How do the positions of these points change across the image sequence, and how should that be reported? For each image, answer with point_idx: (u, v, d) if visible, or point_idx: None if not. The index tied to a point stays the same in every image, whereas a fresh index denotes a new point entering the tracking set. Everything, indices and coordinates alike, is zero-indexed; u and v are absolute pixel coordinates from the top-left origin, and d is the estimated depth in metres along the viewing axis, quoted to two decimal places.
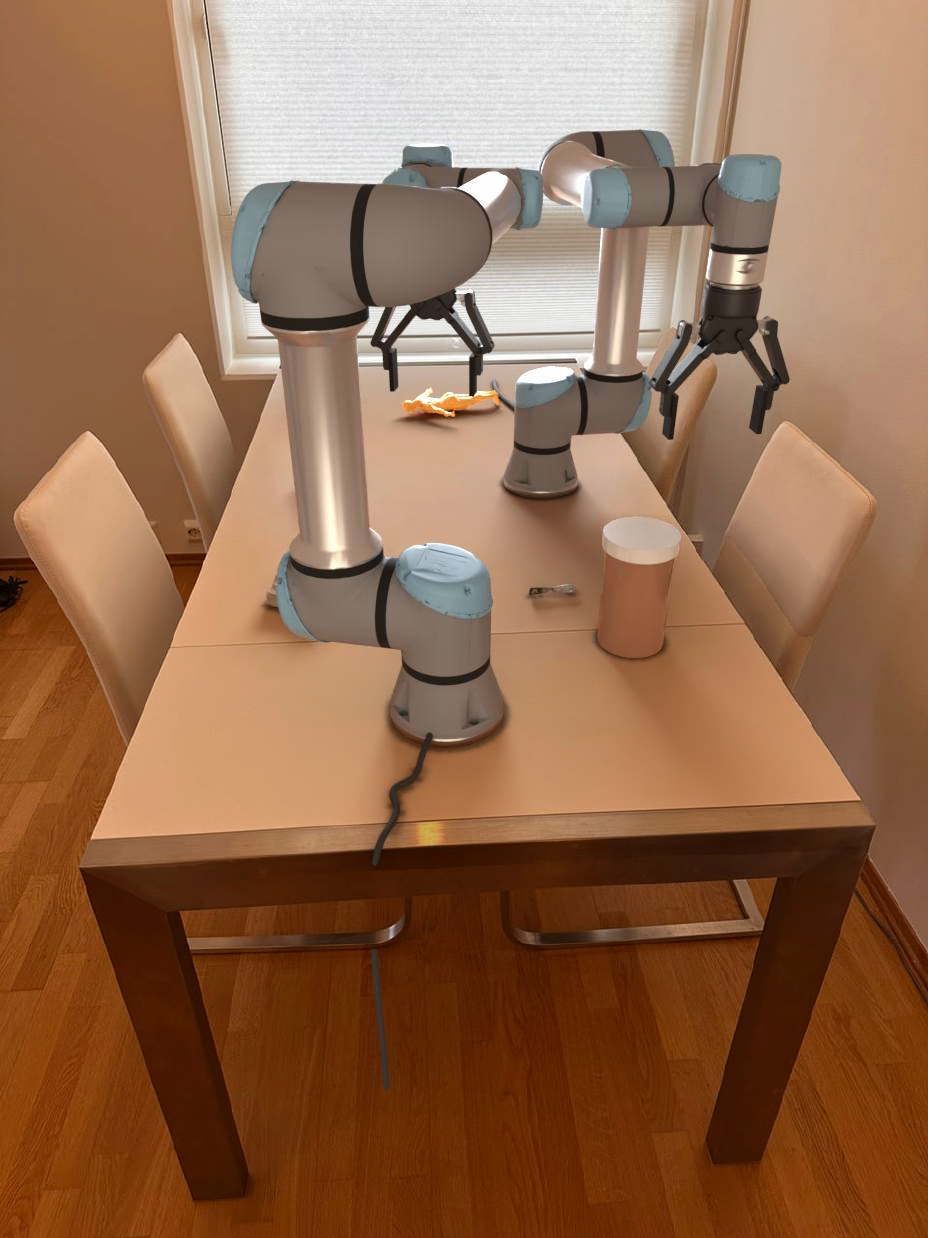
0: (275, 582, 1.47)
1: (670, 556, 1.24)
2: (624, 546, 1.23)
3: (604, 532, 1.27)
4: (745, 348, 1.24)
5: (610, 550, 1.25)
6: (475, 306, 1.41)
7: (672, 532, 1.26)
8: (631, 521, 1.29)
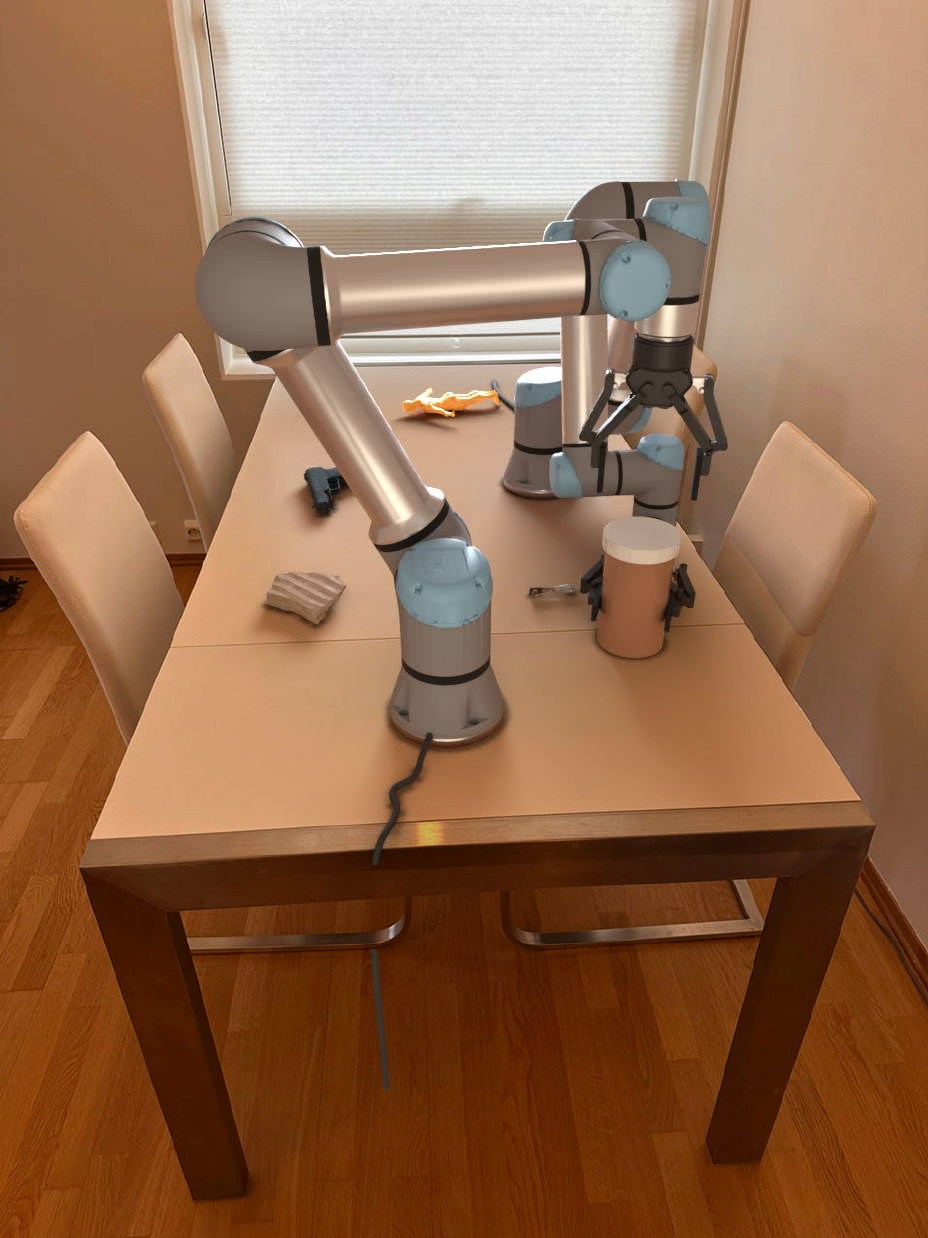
0: (275, 582, 1.47)
1: (670, 556, 1.24)
2: (624, 546, 1.23)
3: (604, 532, 1.27)
4: None
5: (610, 550, 1.25)
6: (713, 394, 1.15)
7: (672, 532, 1.26)
8: (631, 521, 1.29)
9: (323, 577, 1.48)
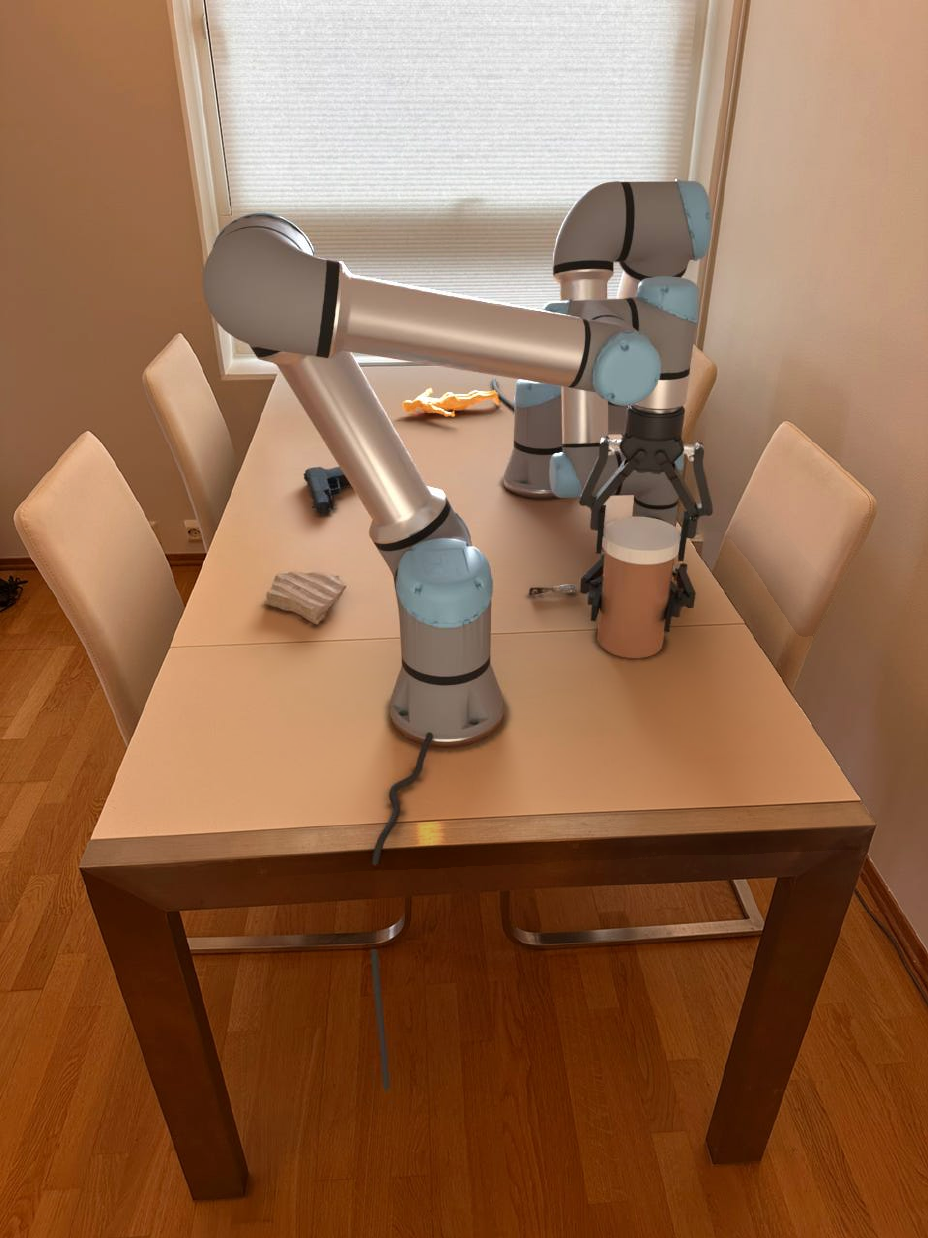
0: (275, 582, 1.47)
1: (670, 556, 1.24)
2: (624, 546, 1.23)
3: (604, 532, 1.27)
4: None
5: (610, 550, 1.25)
6: None
7: (672, 532, 1.26)
8: (631, 521, 1.30)
9: (323, 577, 1.48)
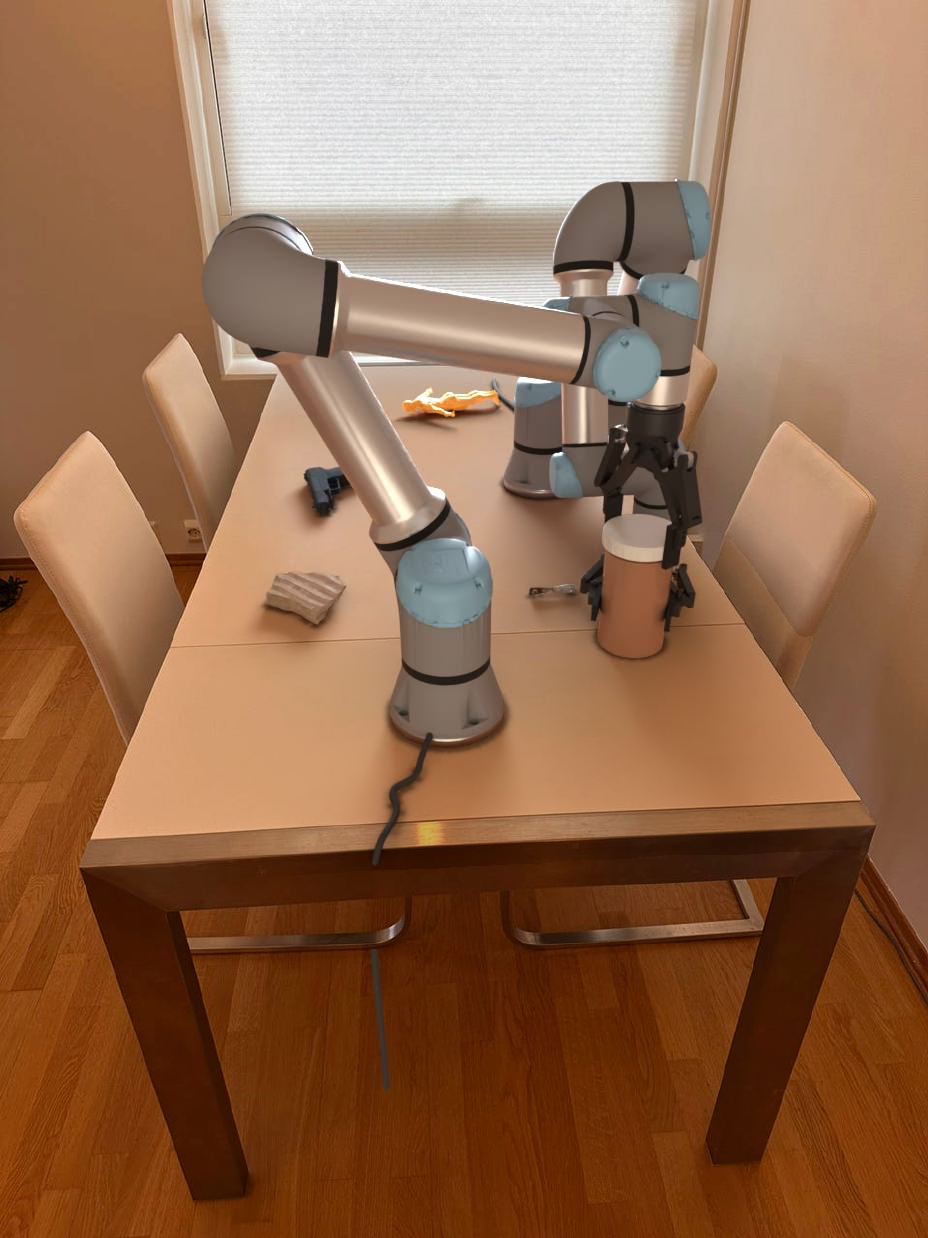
0: (275, 582, 1.47)
1: None
2: None
3: None
4: None
5: None
6: None
7: (615, 521, 1.29)
8: (633, 541, 1.23)
9: (323, 577, 1.48)
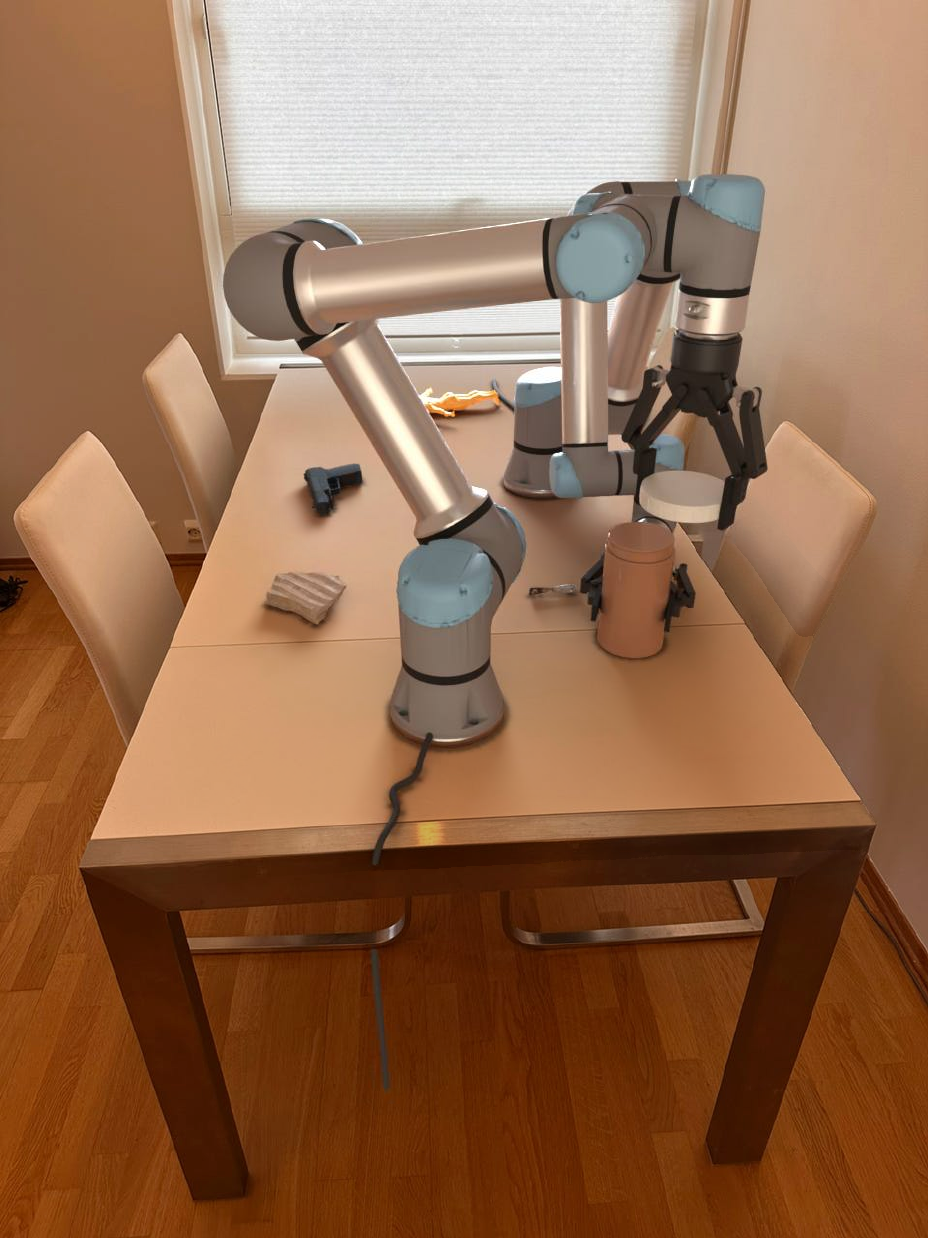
0: (275, 582, 1.47)
1: None
2: (720, 481, 1.10)
3: None
4: None
5: None
6: None
7: (651, 480, 1.10)
8: (683, 500, 1.05)
9: (323, 577, 1.48)
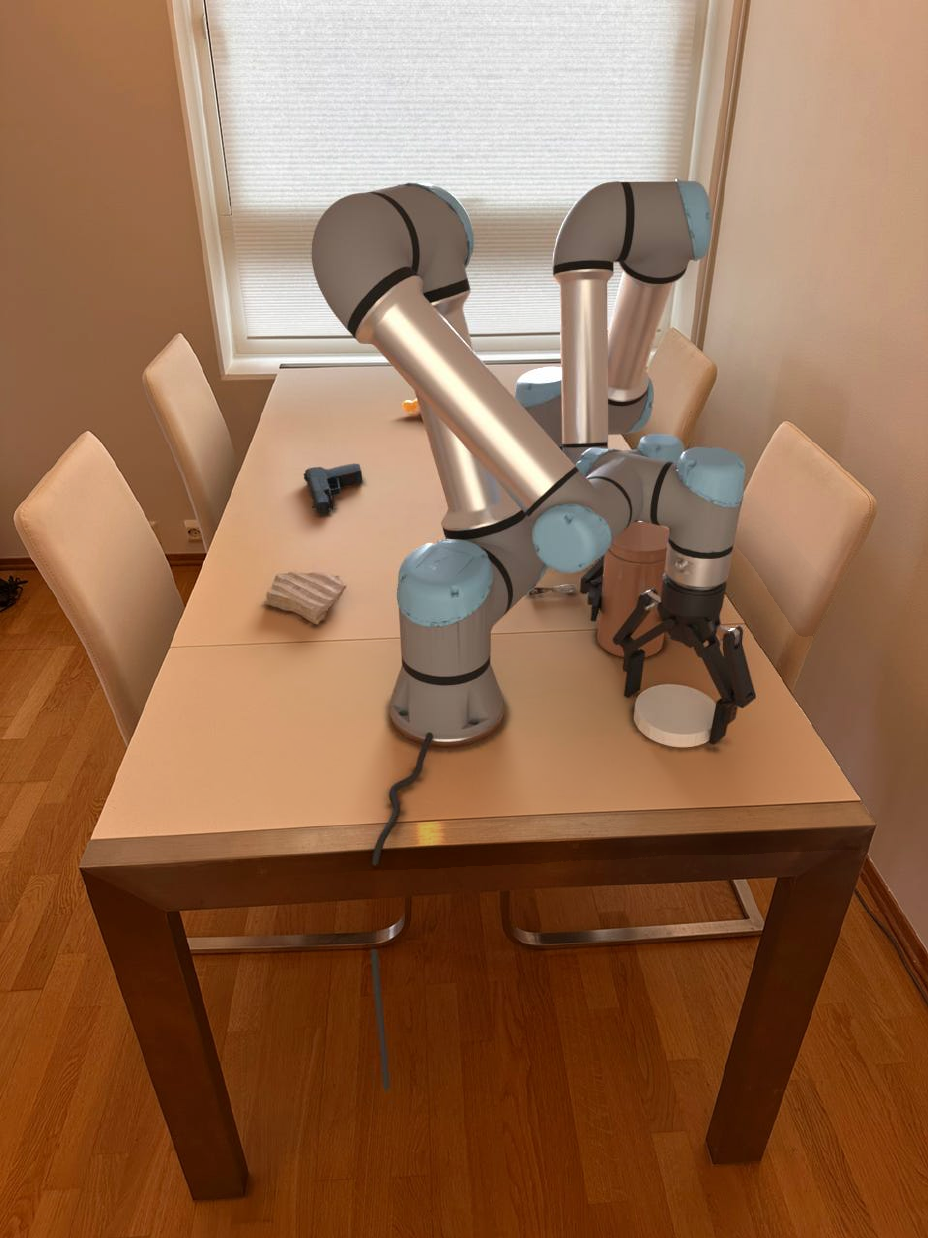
0: (275, 582, 1.47)
1: None
2: (710, 701, 1.19)
3: None
4: None
5: None
6: None
7: (646, 697, 1.20)
8: (671, 725, 1.15)
9: (323, 577, 1.48)
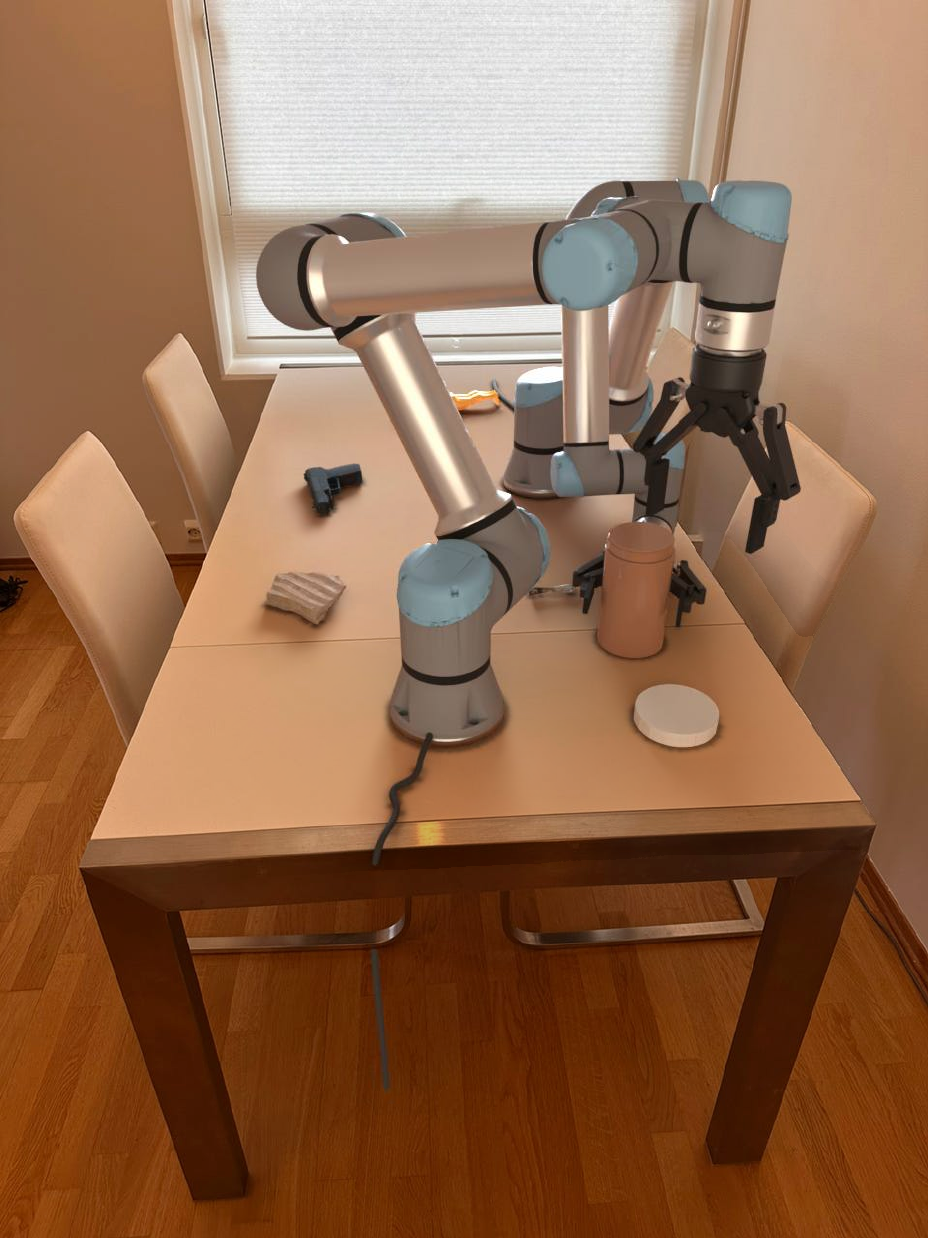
0: (275, 582, 1.47)
1: None
2: (710, 701, 1.19)
3: (714, 723, 1.15)
4: None
5: None
6: None
7: (646, 697, 1.20)
8: (671, 725, 1.15)
9: (323, 577, 1.48)
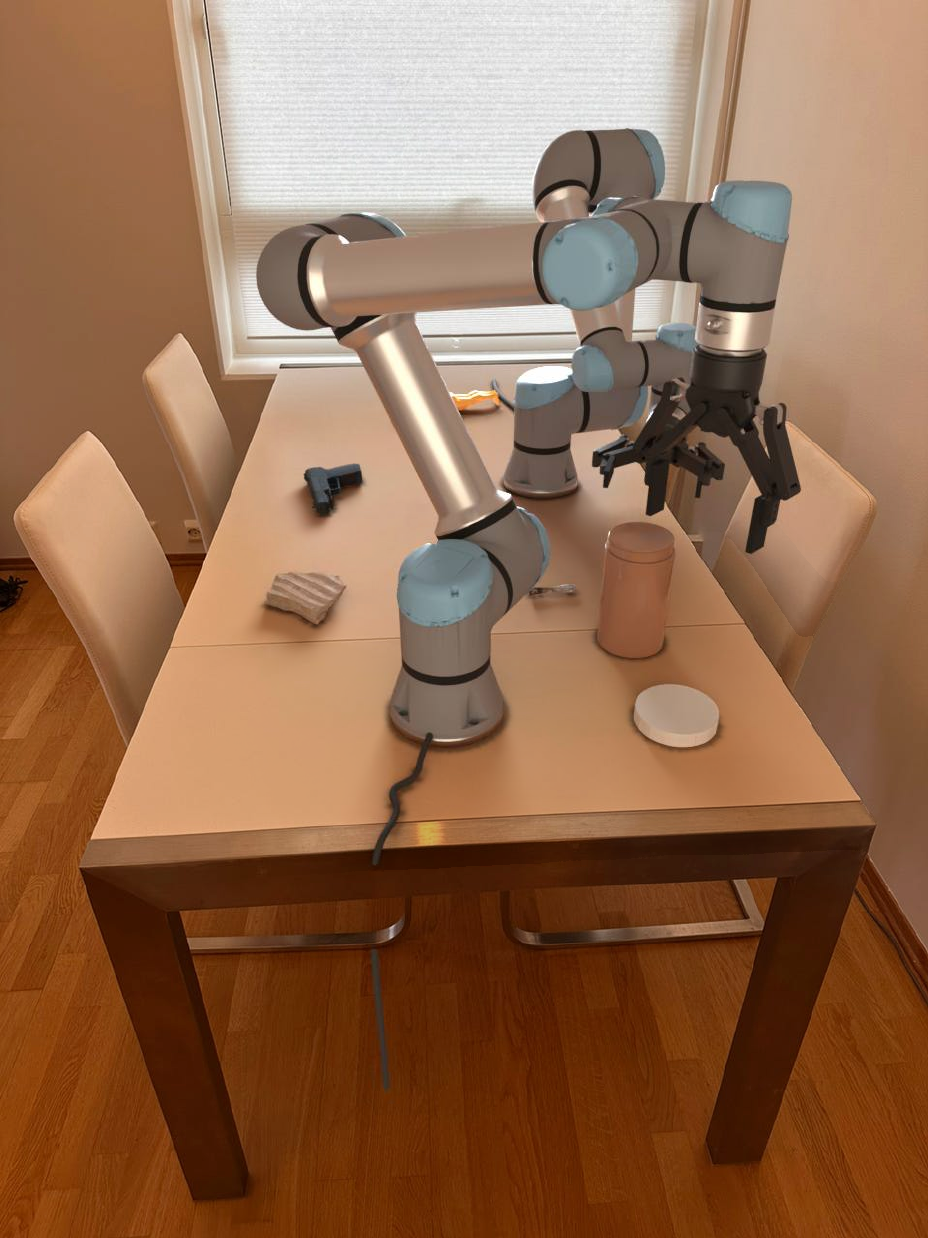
0: (275, 582, 1.47)
1: None
2: (710, 701, 1.19)
3: (714, 723, 1.15)
4: (644, 461, 1.44)
5: None
6: None
7: (646, 697, 1.20)
8: (671, 725, 1.15)
9: (323, 577, 1.48)
